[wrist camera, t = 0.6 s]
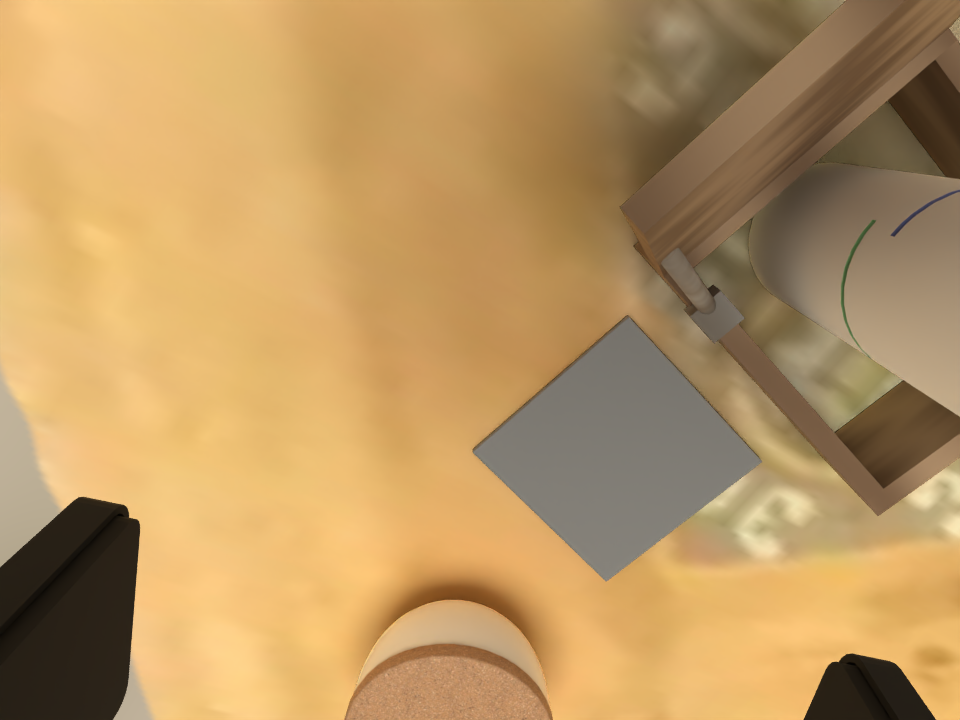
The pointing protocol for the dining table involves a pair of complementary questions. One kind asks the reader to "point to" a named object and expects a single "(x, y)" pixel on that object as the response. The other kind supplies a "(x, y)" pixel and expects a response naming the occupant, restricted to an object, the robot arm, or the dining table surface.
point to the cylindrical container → (871, 266)
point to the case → (780, 161)
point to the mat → (617, 451)
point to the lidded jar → (451, 669)
